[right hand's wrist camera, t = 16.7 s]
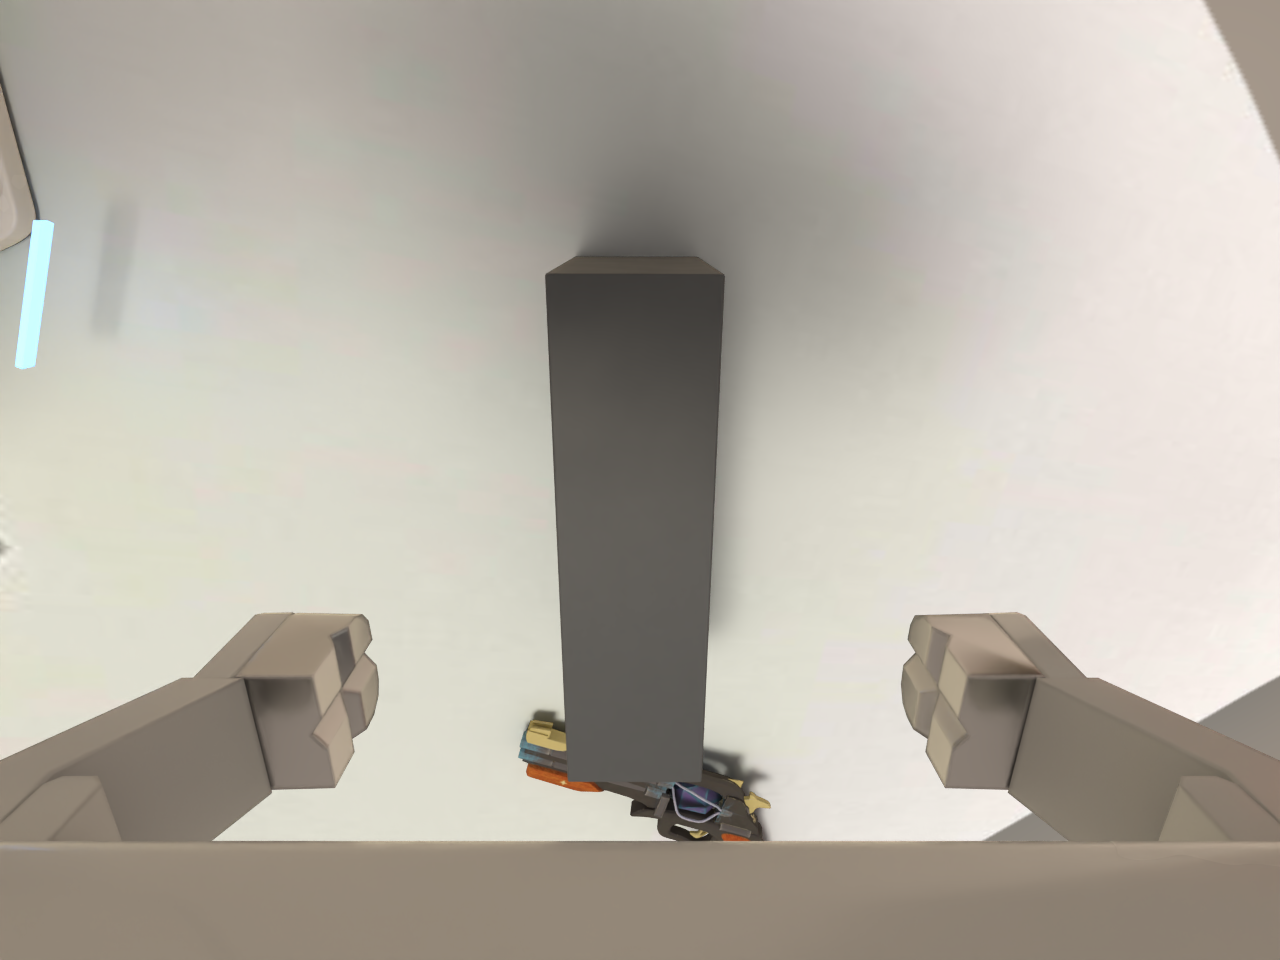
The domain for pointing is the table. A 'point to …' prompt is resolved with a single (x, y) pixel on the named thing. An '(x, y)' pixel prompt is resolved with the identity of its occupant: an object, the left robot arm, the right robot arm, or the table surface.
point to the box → (634, 507)
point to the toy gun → (656, 793)
